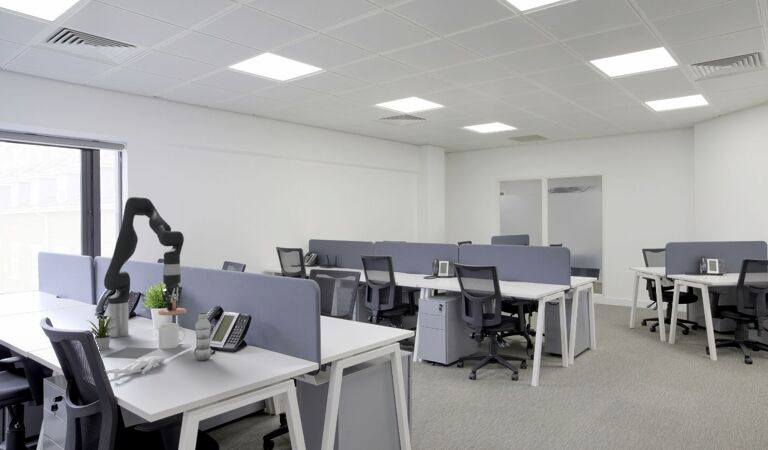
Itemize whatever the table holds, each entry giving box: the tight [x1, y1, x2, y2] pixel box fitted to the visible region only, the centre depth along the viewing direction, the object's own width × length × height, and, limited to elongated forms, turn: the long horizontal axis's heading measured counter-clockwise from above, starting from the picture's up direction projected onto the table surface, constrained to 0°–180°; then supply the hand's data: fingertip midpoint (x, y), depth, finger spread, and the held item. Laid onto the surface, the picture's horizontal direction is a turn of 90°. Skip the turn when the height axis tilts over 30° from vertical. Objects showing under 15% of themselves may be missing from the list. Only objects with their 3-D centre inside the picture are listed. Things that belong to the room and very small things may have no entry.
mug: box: [158, 322, 186, 350], centre depth 226 cm, size 9×12×11 cm
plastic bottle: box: [194, 312, 212, 361], centre depth 205 cm, size 6×7×20 cm
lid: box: [157, 299, 187, 316], centre depth 225 cm, size 12×12×6 cm
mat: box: [103, 346, 159, 360], centre depth 213 cm, size 16×16×1 cm
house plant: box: [86, 315, 118, 351], centre depth 221 cm, size 14×14×16 cm
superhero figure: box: [105, 355, 165, 382], centre depth 189 cm, size 12×6×25 cm
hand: (172, 309), depth 225 cm, fingers closed on lid, 3 cm apart
